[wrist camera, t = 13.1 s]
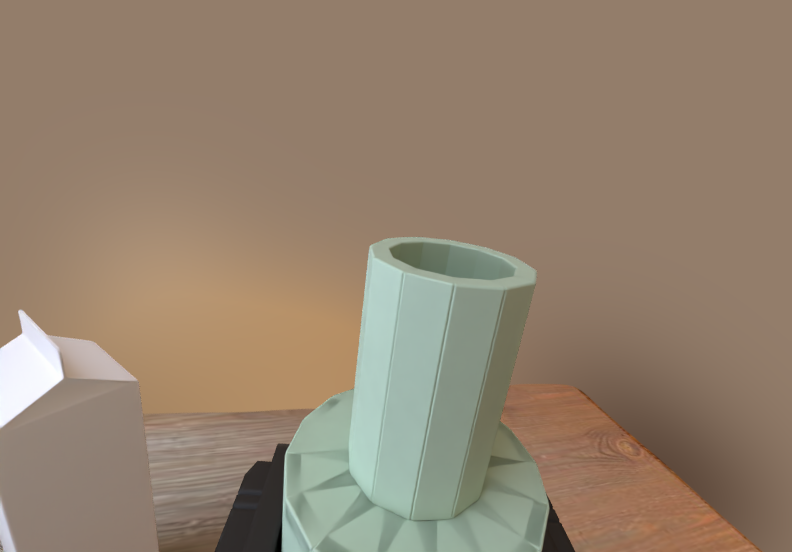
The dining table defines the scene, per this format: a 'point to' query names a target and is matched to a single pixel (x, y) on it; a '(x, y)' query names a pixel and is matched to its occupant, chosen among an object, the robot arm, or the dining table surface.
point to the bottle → (422, 415)
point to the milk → (71, 449)
